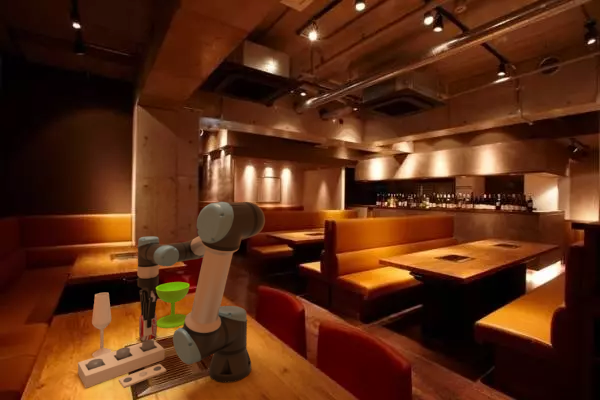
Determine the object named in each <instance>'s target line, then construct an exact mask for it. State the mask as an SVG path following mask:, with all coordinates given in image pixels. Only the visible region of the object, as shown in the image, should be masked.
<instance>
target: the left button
mask: <svg viewBox="0 0 600 400" xmlns="http://www.w3.org/2000/svg"><path fill="white" fill-rule="evenodd" d="M100 366H103V360H102V359H94V360H91V361H90V362H88V370H91V369H94V368H97V367H100Z"/></svg>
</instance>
